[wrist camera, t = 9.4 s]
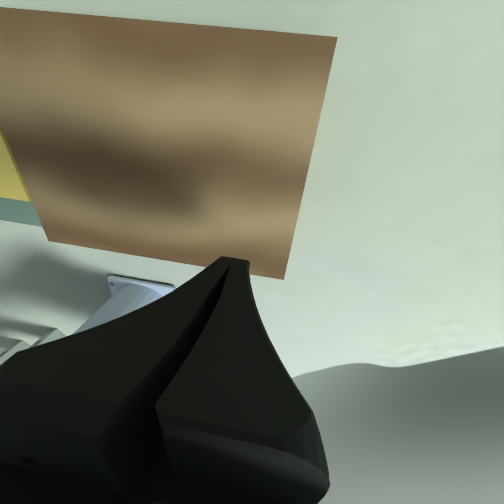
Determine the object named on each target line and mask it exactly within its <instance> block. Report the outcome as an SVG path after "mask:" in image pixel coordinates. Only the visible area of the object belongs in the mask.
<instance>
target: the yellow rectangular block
mask: <svg viewBox="0 0 504 504" xmlns="http://www.w3.org/2000/svg"><path fill="white" fill-rule="evenodd" d="M0 197H2V198H9V199H15V200H21V201H28V202H30V201H32V200H31V198H30V195H29V193H28V190H27V188H26V186H25V183H24V181H23V178H22V176H21V174H20V171H19V169H18V166H17V164H16V162H15V159H14V157H13V154H12V152H11V150H10V147H9V145H8V142H7V140H6V138H5V135H4V133H3V130H2V128H1V126H0Z"/></svg>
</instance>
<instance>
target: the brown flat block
mask: <svg viewBox="0 0 504 504" xmlns="http://www.w3.org/2000/svg"><path fill="white" fill-rule="evenodd" d="M336 42H337V37H331V36H319V35H308V34H297V33H286V32H274V31H263V30H252V29H240V28H229V27H218V26H207V25H195V24H184V23H173V22H162V21H150V20H139V19H128V18H116V17H105V16H94V15H83V14H71V13H60V12H49V11H38V10H26V9H15V8H4V7H0V126H1V128H2V130H3V133H4V135H5V138H6V140H7V142H8V145H9V147H10V150H11V152H12V154H13V157H14V159H15V162H16V164H17V166H18V169H19V171H20V174H21V176H22V178H23V181H24V183H25V186H26V188H27V190H28V193H29V195H30V198H31V200H32V202H33V205H34V207H35V210H36V212H37V214H38V217H39V219H40V222H41V224H42V226H43V229H44V231H45V234H46V236H47V238H48V241H52V242H58V243H64V244H70V245H76V246H82V247H88V248H94V249H100V250H106V251H112V252H118V253H124V254H131V255H137V256H143V257H149V258H155V259H161V260H167V261H173V262H179V263H185V264H191V265H197V266H203V267H208V266H209V265H210V264H212V263H213V262H214V261H215V260H217V259H218V258H219V257H221V256H225V257H232V258H238V259H244V260H248V261H249V262H250V269H249V274H251V275H258V276H264V277H270V278H276V279H282V280H284V276H285V271H286V267H287V262H288V258H289V253H290V249H291V244H292V240H293V235H294V231H295V226H296V222H297V217H298V213H299V208H300V204H301V199H302V195H303V190H304V186H305V181H306V177H307V172H308V168H309V163H310V159H311V154H312V150H313V145H314V141H315V136H316V132H317V127H318V123H319V118H320V114H321V109H322V105H323V100H324V96H325V91H326V87H327V82H328V78H329V73H330V69H331V64H332V60H333V55H334V51H335V46H336Z"/></svg>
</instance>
